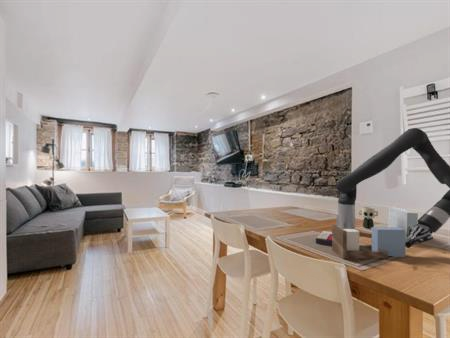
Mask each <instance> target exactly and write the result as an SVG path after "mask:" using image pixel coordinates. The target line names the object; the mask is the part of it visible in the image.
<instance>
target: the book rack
mask: <svg viewBox="0 0 450 338" xmlns="http://www.w3.org/2000/svg"><path fill="white" fill-rule="evenodd" d="M331 226H332V227H331V232H332V246H331V247H332V249H331V250H332V251H333V252H334V253H335V254H336V255H337V256H339V257H340V258H341V259H342V260H348V259H357V260H358V259H359V258H383V259H382V260H387V259H389V257H388V251H372V244H359V251H347V231H345V230H344V229H342V228H340V227H338V226H337V224H335V225H334V224H332V225H331ZM385 258H386V259H385ZM359 260H360V259H359Z"/></svg>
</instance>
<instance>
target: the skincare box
mask: <svg viewBox="0 0 450 338" xmlns="http://www.w3.org/2000/svg"><path fill="white" fill-rule="evenodd" d="M387 217H388V220H387V221H388V222H387V223H388V224H387V227H399V228H402V229H404V230H405V241H406V240H407V239H408V237H407V236H406V233H407V227H410V228H412V227H414V226H415V225H417V224H418V219H419V218H418V217H419V214H418V213H417V212H414V211H411V210H407V209H404V208H401V207H398V206H397V207H395V206H388V216H387Z"/></svg>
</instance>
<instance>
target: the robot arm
mask: <svg viewBox="0 0 450 338" xmlns="http://www.w3.org/2000/svg"><path fill="white" fill-rule="evenodd" d="M410 149H413V150H414V151H415V152H416V153H417V154H418V155H420V157H421V158H422V159H423V161H424V162H425V164H426V166H427V167H428V170H429V171H430V172H431V174H432V175H433V176H434V178H435V179H436V181H438V182H439V183H440V184H441V185H445V186H447V187H448V188H449V190H447V191H446V192H445V194H444V195H442V197H441V198H440V199H439V200H438V201H437V202H436V203H435V204H434V205H432V207H430V208H429V209H428V210H426V212H425V213H424V214H422V215H421V217H419V218H418V222H417V225H415V226H414V227H412V228H410V227H407V233H406V236H407V237H408V239H407V240H406V241H405V248H407V249H410V248H411V247H412V246H413V245H414V244H417V243H418V244H422V243H425V242H428V241H431V240H433V239H434V236H432V234H433V233H437V231H439V229H441V228H442V226H443V225H445V224H446V223H447V222H448V220H449V219H450V164H448V163H447V161H446V160H445V159H444V158H443V157H442V156H441V155H440V154H439V152H438V151H437V150H436V148H435V147H434V146H433V144H432V142H431V141H430V139H429V136H428V134H427V133H426V132H425V131H423V130H422V129H420V128H417V127H414V128H410V129H407V130H406V131H404V132H403V133H402V134H400V135H399V136H398V137H397V138H395V140H394V141H392V142H391V143H390V144H388V145H387V146H386V147H384V148H382V149H381V150H380V151H378V152H377V153H375V154H374V155H373V156H370V158H368V159H367V160H366V161H365V162H363V163H361V164H360V165H358V167H357V168H356V169H354V170H353V171H352V172H350V173H348V174H346V175H345V176H343V177H341V178H340V179H337V181H336V183H335V189H336V190H337V191H338V192H339V193H340V196H339V197H338V199H337V200H338V201H337V203H338V205H337V210H338V211H337V213H338V215H336V226H338V227H340V228H342V229H355V230H356V200H357V190H358V189H357V187H358V186H357V185H359V184H360V183H362V182H363V181H365V180H368V179H370V178H371V177H374V176H376V175H378V174H380V173H381V172H383V171H384V170H386V169H388V168H389V167H390V166H391V165H392V164H393V163H394V162H395V161H396V159H397V158H398V157H400V156H401V155H403V154H404V153H405V152H406V151H408V150H410Z"/></svg>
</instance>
